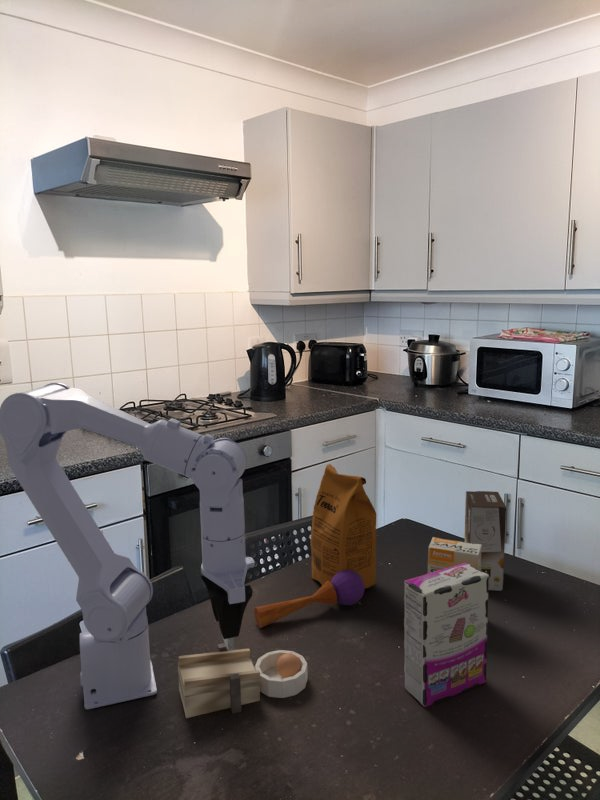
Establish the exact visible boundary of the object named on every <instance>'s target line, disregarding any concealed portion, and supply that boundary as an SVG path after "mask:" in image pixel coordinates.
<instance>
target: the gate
mask: <svg viewBox="0 0 600 800" xmlns="http://www.w3.org/2000/svg"><path fill="white" fill-rule="evenodd" d="M221 637H222V640H223V643H225V645H226V647H227V650H228V651H231V650H235V645H234V644H235V641H234V637H233V638H228V639H224V638H223V636H222V635H221Z"/></svg>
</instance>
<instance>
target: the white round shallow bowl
mask: <svg viewBox="0 0 600 800" xmlns="http://www.w3.org/2000/svg"><path fill="white" fill-rule="evenodd" d="M286 653H291V654H294V655H295V656H297V657H298V659H299V661H300V671H299V672H298V673H297V674H296V675H294V676H292V677H288V678H283V677H281V676H280V675H279V673H278V671H277V661H278V659H279V658H280V657H281V656H282V655H283V654H286ZM254 668H255V670H259V671H260V682H259V684H260V693H262V694H264V695H265V696H267V697H269V698H277V699H284V698H289V697H293V696H296V695H298V694H299V693H301V692H302V691H303V690H304V689H306V686H307V682H308V662H307V660H306V659H305V658H304V656H303V655H301V654H299V653H297V652H296V651H294V650H293V651H292V650H283V649H277V650H274V651H269V652H266V653H265V654H263V655H262V656H260V657H258V658H257V661H256V663H255V665H254Z"/></svg>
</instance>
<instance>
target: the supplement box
mask: <svg viewBox="0 0 600 800" xmlns="http://www.w3.org/2000/svg"><path fill="white" fill-rule="evenodd" d="M427 549H428V551H427V552H428V553H427V572H426V574H429V573H432V572H435V571H439V570H442V569H445V568H449V567H452V566H456V565H459V564H462V563H468V564H470V565H472V567H475V568H477V569H479V570H480V568H481V549H482V545H481V544H474V543H467V542H464V541H460V540H454V539H453V540H451V539H447V538H440V537H435V536H432V538H431V541H430V543H429V545H428V548H427Z"/></svg>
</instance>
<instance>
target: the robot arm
mask: <svg viewBox="0 0 600 800" xmlns="http://www.w3.org/2000/svg"><path fill="white" fill-rule="evenodd" d="M79 429H84V430H86V431H89V432H93V433H96V434H98V435H102V436H104V437H107V438H110V439H113V440H116V441H119V442H122V443H125V444H127V445H130V446H133V447H136V448H139V450H140V452H141V455H142V457H143V459H144V460H145V461H147V462H149V463H152V464H155V465H156V466H160V467H162V468H164V469H167V470H169V471H172V472H174V473H176V474H179V475H182V476H184V477H187V478H189V479H191V480H192V482H193V483H194V485H195V486H196V487H197V489H198V490H199V513H200V515H199V516H200V535H201V538H200V539H201V556H202V557H201V558H202V563H201V566H200V569H199V571H198V572H199V573H198V574H199V576H200V578H201V580H202V581H203V583H204V585H205V587H206V589H207V590H206V592H207V595H208V598H209V600H210V604H211V605H210V606H211V609H212V612H213V617H214V619H215V621H216V622H218V624H219V630H220V632H221V633H220V634H221V637H222V636H223V637H222V639H223V638H224V639H228V638H233V639H234V638H237V637H239V635H240V633H241V628H242V623H243V619H244V613H245V610H246V608H247V605H248V603H249V601H250V600H251V598H252V596H253V591H254V590H253V587H252V586H251V585H250V584H247V585H245V581H246V576H247V571H248V569H252V568H254V567H255V563H256V562H255V560H254V558H253V557H251V556H247V555H246V554H247V553H246V527H245V523H246V522H245V499H244V493H243V492H244V491H243V490H244V489H243V488H244V487H243V479H242V478H241V477H242V475H243V474H244V472H245V470H246V467H247V462H248V461H247V455H246V452H245V450H244V448H242V446H241V445H240V444H239V443H237V442H236V441H235V440H233V439H231V438H230V437H221V438H217V439H215V436H214V435H212V434H209V433H207V434H205V435H203V434H200V433H198V432H196V431H193V430H192V429H191V430H190V429H188V428H186V427H183V426H181V421H180V420H177V419H176V418H170V419H169V420H167V419H158V420H157V421H155V422H153V423H149V422H147V421H144V420H143V419H140V418H139V417H136V416H133V415H132V414H129V413H127V412H126V411H123V410H121V409H119V408H117V407H115V406H113V405H110V404H108V403H105V402H104V401H101V400H100V399H97V398H95V397H93V396H90V395H89V394H88V393H86V392H85V391H84V390H82V389H80V388H77V387H70V386H69V385H67V384H65V383H62V382H50V383H47V384H46V385H44V386H41V387H37V388H34V389H31V390H26V391H24V392H16V393H15V392H14V393H13V394H10V395H8V396H7V397H5V398H4V400H3V401H2V403H1V405H0V436H1V437H2V439H3V441H4V445H5V446H4V447H5V451H6V455H7V463H8V465H9V468H10V470H11V472H12V473H13V475H14V477H15V478H16V480H17V481H18V483H19V484H20V486H21V488H22V489H23V491H24V493H25V494H26V496H27V498H28V499H29V500H30V502H31V504H32V505H33V507H34V508H35V510H36V512H37V514H38V515H39V517H40V518H41V519H42V521H43V523H44V524H45V526H46V528H47V530H49V532H50V534H51V535H52V537H53V539H54V540H55V542H56V544H57V545H58V546H59V548H60V550H61V551H62V552H63V555H64V556H65V558H66V559H67V561H68V562H69V564H70V565H71V568H72V569H73V570H74V571H75V573H76V576H77V577H78V583H77V589H76V596H75V601H76V602H77V605H78V606H79V607H80V610H81V613H82V621H83V624H84V626H85V629H86V631H83V632H80V633H79V652H80V653H79V655H80V667H81V668H80V669H81V671H80V673H79V674H80V676H79V677H80V678H79V679H80V686H81V687H82V690H83V700H84V704H83V706H84V709H85V710H92V709H95V708H101V707H105V706H109V705H115V704H118V703H123V702H127V701H132V700H136V699H141V698H146V697H149V696H154V695H156V694H157V693H158V690H157V689H158V688H157V683H156V678H155V673H154V666H153V663H152V662H153V661H152V660H151V653H150V637H149V623H148V621H149V620H148V615H147V607H146V606H148V604H149V602H150V601H151V600H152V598H153V594H154V587H153V584H152V581H151V579H150V578H149V577H148V576H147V574H145V573H144V572H143V571H142V570H140V569H138V568H137V567H136V566H135V565H134V563H133V562H132V560H131V559H130V558H129V557H126V556H123V555H120V554H117V553H115V552H114V550H113V548H112V547H111V545H110V543H109V542H108V540H107V539H106V537H105V536H104V534H103V531H102V530H101V529H100V527H99V525H97V523H96V521H95V520H94V518H93V516H92V514H91V513H90V512H89V511H90V510H88V508H87V507H86V505H85V503H84V502H83V500H82V499H81V497H80V495H79V494H78V492H77V490H76V488H75V487H74V485H73V484H72V483H71V481H70V479H69V478H68V476H67V474H66V473H65V471H64V469H63V468H62V466H61V465H60V463H59V462H58V459H57V454H58V452H59V449H60V446H61V442H62V439H63V437H64V436H65V435H66V433H67V432H70V431H74V430H79Z"/></svg>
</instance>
